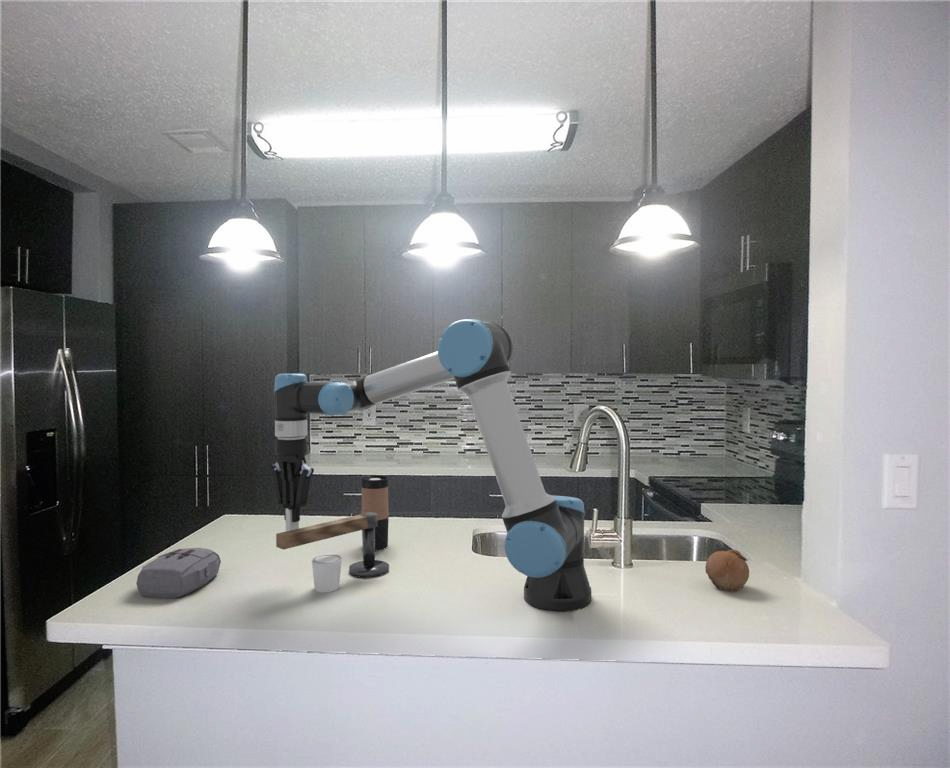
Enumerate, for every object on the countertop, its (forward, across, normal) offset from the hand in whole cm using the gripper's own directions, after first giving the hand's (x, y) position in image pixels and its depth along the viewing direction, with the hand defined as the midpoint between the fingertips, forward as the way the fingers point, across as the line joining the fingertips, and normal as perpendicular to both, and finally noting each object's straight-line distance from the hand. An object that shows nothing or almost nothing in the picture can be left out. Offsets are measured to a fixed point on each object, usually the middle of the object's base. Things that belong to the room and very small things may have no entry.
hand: (292, 534), depth 150 cm
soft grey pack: (+12, -21, -15) cm, 29 cm away
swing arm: (0, +9, +4) cm, 10 cm away
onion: (+12, +90, +51) cm, 104 cm away
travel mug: (+12, -2, +32) cm, 34 cm away
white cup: (+12, +10, +1) cm, 16 cm away
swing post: (+11, +11, +15) cm, 22 cm away
